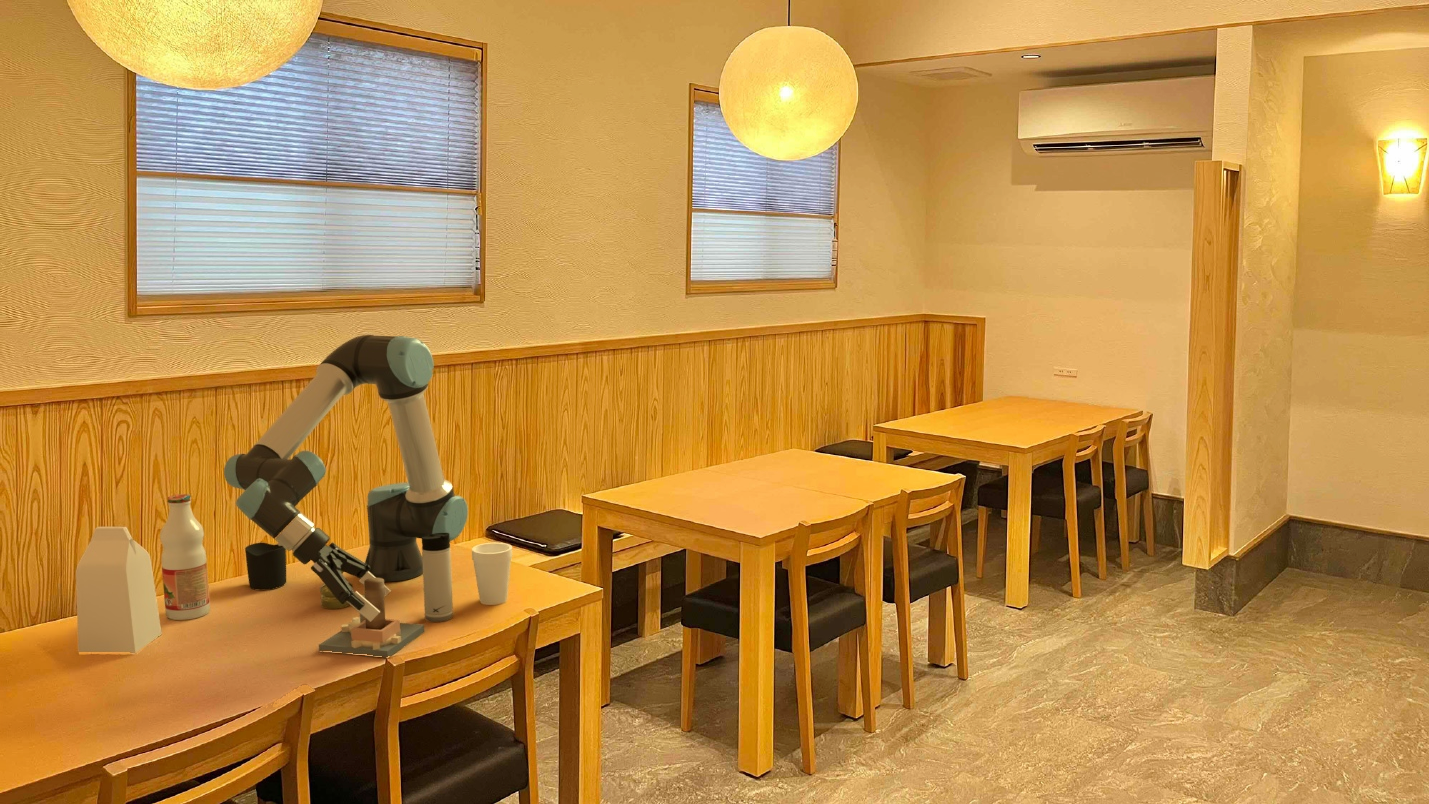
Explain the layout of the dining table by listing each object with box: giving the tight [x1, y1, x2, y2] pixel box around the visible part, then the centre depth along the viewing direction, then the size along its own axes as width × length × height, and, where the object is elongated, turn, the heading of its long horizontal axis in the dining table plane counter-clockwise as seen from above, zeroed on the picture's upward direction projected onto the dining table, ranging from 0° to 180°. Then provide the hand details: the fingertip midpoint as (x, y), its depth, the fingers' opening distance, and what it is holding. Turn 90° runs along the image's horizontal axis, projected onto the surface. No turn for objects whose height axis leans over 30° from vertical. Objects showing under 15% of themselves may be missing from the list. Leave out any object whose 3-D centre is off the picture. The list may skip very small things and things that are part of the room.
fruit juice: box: [159, 493, 211, 621], centre depth 261 cm, size 9×9×28 cm
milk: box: [75, 526, 163, 653], centre depth 242 cm, size 12×12×26 cm
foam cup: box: [471, 542, 513, 606], centre depth 271 cm, size 10×9×13 cm
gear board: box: [318, 594, 426, 657], centre depth 245 cm, size 16×16×9 cm
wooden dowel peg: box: [363, 578, 386, 630], centre depth 241 cm, size 4×4×12 cm
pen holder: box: [244, 542, 287, 590], centre depth 283 cm, size 9×9×10 cm
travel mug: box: [421, 533, 454, 623], centre depth 259 cm, size 6×7×20 cm
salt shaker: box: [319, 570, 354, 610], centre depth 269 cm, size 7×7×10 cm
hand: (381, 605), depth 241 cm, fingers open, 13 cm apart
